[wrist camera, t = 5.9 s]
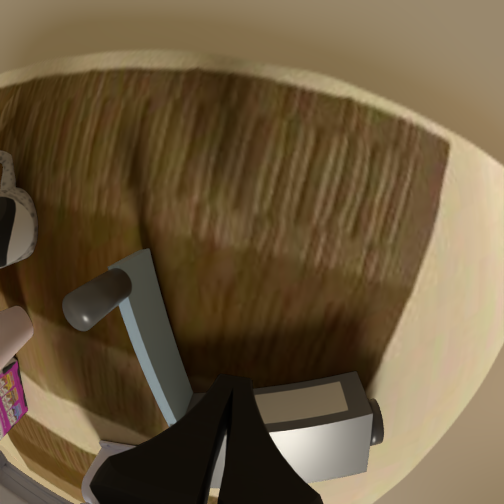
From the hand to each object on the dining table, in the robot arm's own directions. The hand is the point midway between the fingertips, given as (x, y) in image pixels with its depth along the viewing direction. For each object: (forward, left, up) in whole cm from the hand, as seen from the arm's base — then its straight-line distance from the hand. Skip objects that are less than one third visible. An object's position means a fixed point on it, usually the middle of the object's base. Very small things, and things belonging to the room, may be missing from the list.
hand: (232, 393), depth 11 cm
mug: (-19, +12, -9) cm, 24 cm away
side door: (-6, -1, -8) cm, 10 cm away
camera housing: (0, -11, -8) cm, 14 cm away
